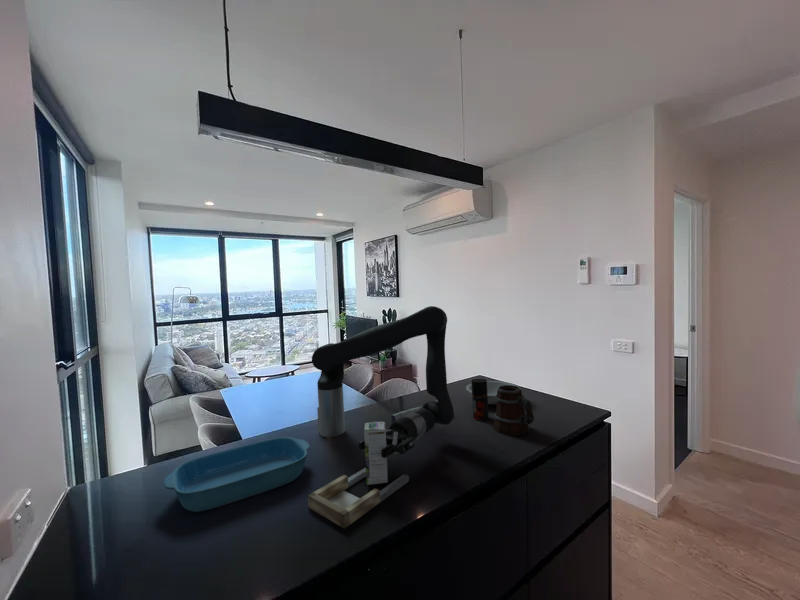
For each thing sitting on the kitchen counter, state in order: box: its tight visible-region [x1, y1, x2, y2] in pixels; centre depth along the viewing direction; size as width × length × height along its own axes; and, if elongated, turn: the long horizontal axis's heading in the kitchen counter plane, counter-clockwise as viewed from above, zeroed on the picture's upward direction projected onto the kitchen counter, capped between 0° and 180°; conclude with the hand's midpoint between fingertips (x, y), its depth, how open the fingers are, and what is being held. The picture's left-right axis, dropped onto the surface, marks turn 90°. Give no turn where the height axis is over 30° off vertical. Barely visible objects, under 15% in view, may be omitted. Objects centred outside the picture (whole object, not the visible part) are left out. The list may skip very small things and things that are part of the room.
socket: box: [307, 474, 381, 529], centre depth 83 cm, size 12×13×3 cm
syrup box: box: [363, 421, 389, 486], centre depth 93 cm, size 6×6×14 cm
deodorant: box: [470, 378, 490, 422], centre depth 136 cm, size 6×6×15 cm
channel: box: [348, 467, 410, 503], centre depth 92 cm, size 12×13×2 cm
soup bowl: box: [465, 380, 522, 405], centre depth 155 cm, size 24×24×7 cm
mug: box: [493, 385, 535, 436], centre depth 122 cm, size 16×12×15 cm
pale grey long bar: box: [390, 399, 438, 424], centre depth 140 cm, size 5×7×25 cm
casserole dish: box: [163, 436, 311, 513], centre depth 96 cm, size 37×22×7 cm, turn 124°
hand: (370, 450), depth 91 cm, fingers closed on syrup box, 8 cm apart
